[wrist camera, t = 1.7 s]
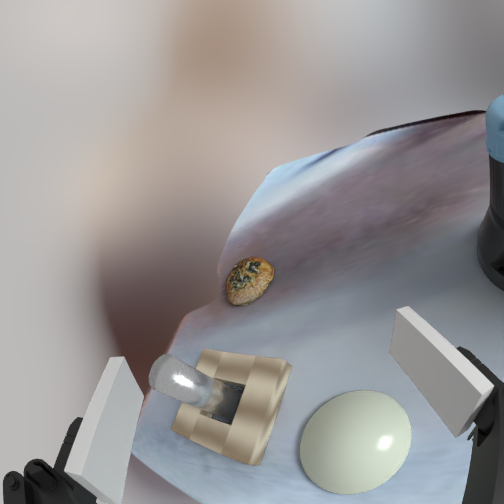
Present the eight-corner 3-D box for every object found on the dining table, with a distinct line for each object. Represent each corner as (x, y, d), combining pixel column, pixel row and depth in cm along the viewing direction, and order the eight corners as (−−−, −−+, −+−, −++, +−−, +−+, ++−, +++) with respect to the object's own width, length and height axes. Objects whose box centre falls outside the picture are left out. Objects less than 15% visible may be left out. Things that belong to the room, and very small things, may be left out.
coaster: (318, 388, 33) (316, 386, 33) (420, 391, 25) (420, 390, 25) (288, 481, 25) (286, 481, 25) (394, 499, 17) (394, 500, 17)
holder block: (214, 355, 48) (203, 348, 46) (291, 365, 38) (283, 358, 36) (183, 433, 38) (170, 429, 37) (259, 465, 29) (247, 464, 27)
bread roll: (237, 264, 62) (226, 250, 59) (283, 262, 57) (274, 246, 53) (221, 308, 56) (208, 296, 52) (271, 310, 50) (260, 297, 47)
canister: (226, 388, 41) (158, 351, 33) (250, 394, 38) (182, 357, 30) (216, 415, 38) (143, 384, 30) (240, 423, 35) (166, 395, 27)
